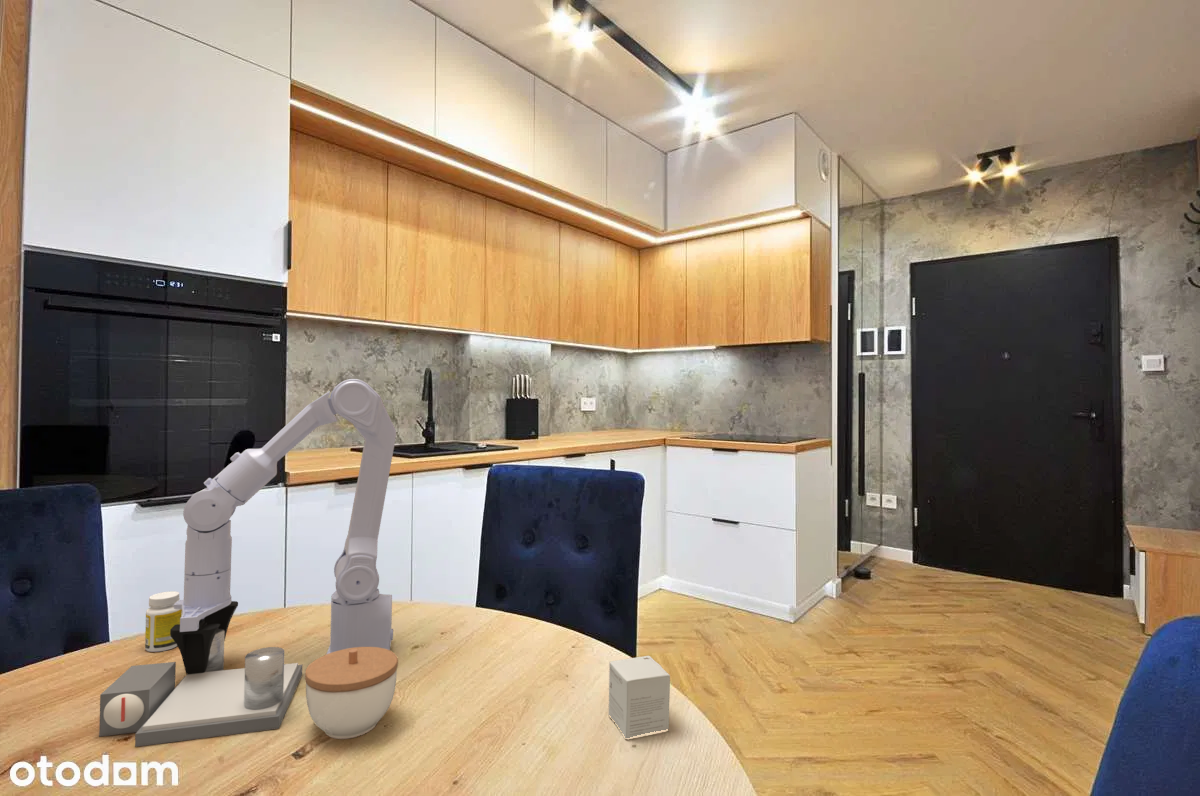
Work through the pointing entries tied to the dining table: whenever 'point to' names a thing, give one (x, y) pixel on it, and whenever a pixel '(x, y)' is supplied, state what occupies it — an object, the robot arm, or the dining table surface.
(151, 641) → the supplement bottle
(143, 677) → the scale
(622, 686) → the product box
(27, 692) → the dining table surface
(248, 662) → the cylinder
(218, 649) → the cylinder
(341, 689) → the lidded jar
